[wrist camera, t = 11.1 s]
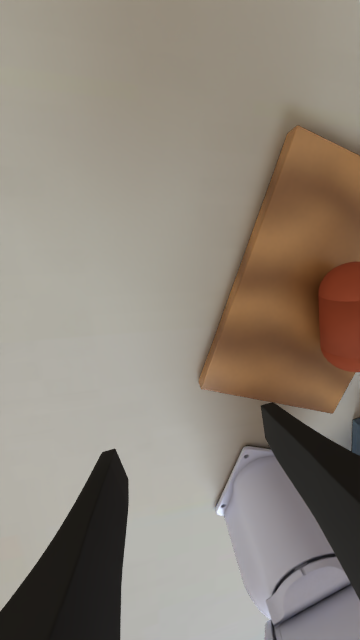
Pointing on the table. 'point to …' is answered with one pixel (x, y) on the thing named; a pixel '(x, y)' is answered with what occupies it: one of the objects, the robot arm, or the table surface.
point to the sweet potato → (341, 316)
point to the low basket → (356, 436)
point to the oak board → (290, 281)
